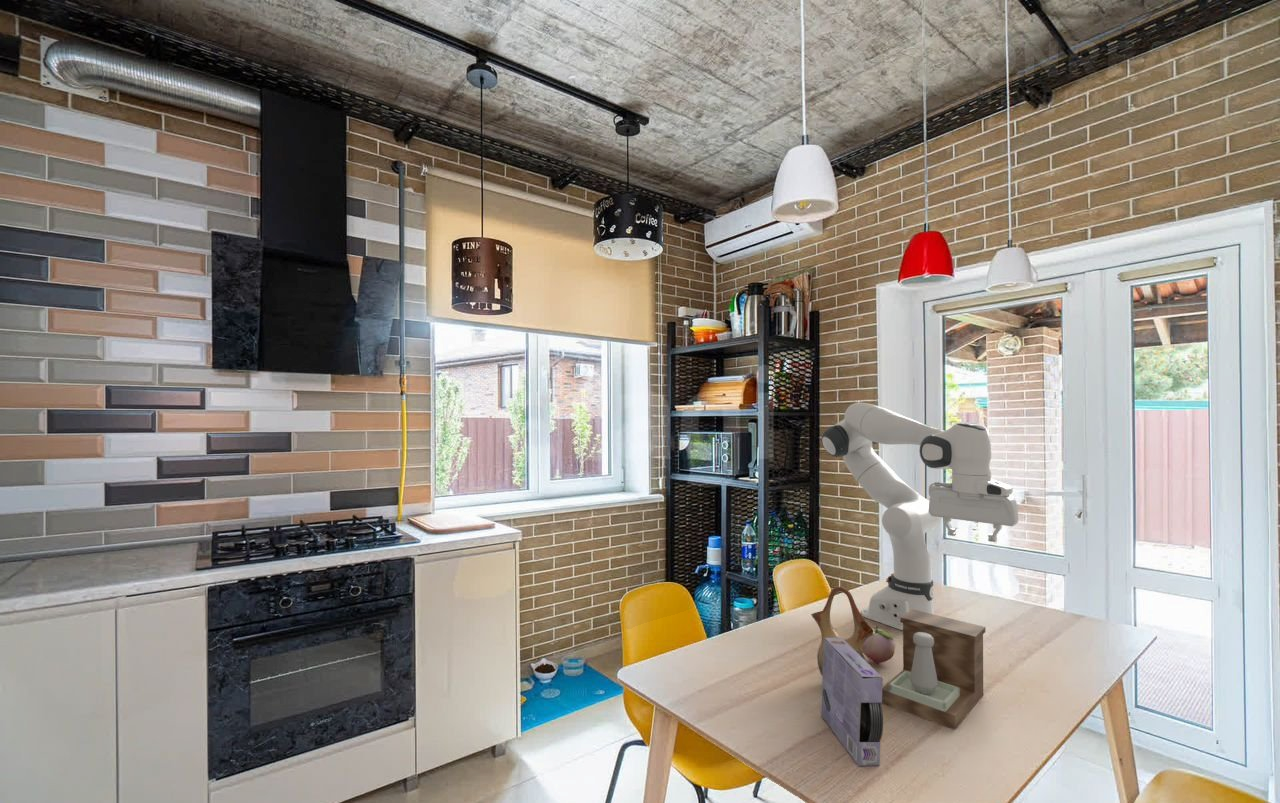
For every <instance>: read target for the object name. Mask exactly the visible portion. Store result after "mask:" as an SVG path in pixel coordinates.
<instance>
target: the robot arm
mask: <svg viewBox="0 0 1280 803" xmlns="http://www.w3.org/2000/svg"><path fill="white" fill-rule="evenodd" d="M820 439H821V444H822V447H823V448H824V450H825V451H826V453H828V454H829V455H830V456H832V457H834V458H840V457H842V458H843V462H844V464H845V466H846V468H847V469H848V471H849V472H850V474H851V475H852V477H853V478H854V480H855V481H856V482H857V483H858V484H859V485H860V486H861V487H862V488H863V490H864V491H865V492H866V494H868V495H869V497H870V498H871V499H872V500H873V501H874V502H876V503H879V504H880V505H882V506H884V507H885V508H887V509H885V511H884V512H883V514H882V518H881V523H882V526H883V528H884V530H885V532H886V533H887V534H888V537H889V540H890V542H891V547H892V548H891V549H892V553H893V555H892V556H893V573H891V574H890V575H889V576H887V578H886V579H885V580H886V583H887V586H885V587H883V588H881V589H879V590H878V591H876V592H875V593H873V594H872V595H871V597H870V599H869V604H868V605H867V606H865V607H864V608H863V609H861V615H862V617H863V618H866V619H869V620H872V621H875V622H877V623H881V624H882V625H886V626H889V627H892V628H894V629H897V630H899V631H903V623H902V622H900V617H902V616H903V615H905V614H906V613H908V612H909V611H911V610H912V609H913V610H918V611H922V612H926V613H930V614H934V615H936V614H935V607H934V602H933V599H934V595H935V592H934V591H935V589H934V588H935V587H934V580H933V579H932V578H933V573H932V570H933V568H932V567H933V565H932V561H933V559H932V558H933V557H932V554H931V553H930V552H929V550H928V547H927V543H926V538H925V534H926V533H929V532H931V531H933V530H935V528H937V526H938V525H939V524H940V523H941V520H942V522H943V525H944V526H945V528H946V529H947V535H948V536H952V537H955V536H956V535H957V533H956V531H957V529H956V528H953V527H952V525H951V523H950V522H952V520H958V521H966V522H974V523H975V522H976V523H983V524H990V525H992V526H993V527H992V528H993V529H995V530H994V531H993V533H988V535H987V536H988V540H987V541H988V542H992V543H996V542H997V541H998V539H997V538H998V537H997V536H998V534H999V533H1000V531H1001V530H1002V527H1003V526H1005V527H1014V526H1016V525H1017V524H1018V523H1019V509H1018V504H1017V501H1016V499H1015V497H1014V496H1013V495H1012V493H1013V492H1014V491H1013V490H1014V488H1013V487H1012V486H1011V485H1010V484H1007V483H1003V482H1001V481H999V480H998V481H997V480H996V479H993V478H992V472H991V468H990V462H991V459H992V447H991V446H992V445H991V444H992V443H991V442H992V441H991V436H990V433H989V430H988V428H987V427H986V426H985V425H982V424H979V423H975V422H968V421H967V422H966V421H964V422H963V421H960V422H959V421H958V422H956V423H954V424H953V425H952V426H951V427H950V428H948V429H945V430H944V429H940V428H937V427H934V426H931V425H928V424H924V423H922V422H919V421H918V420H914V419H911V418H910V417H906V416H903V415H902V414H900V413H897V412H894V411H892V410H890V409H887V408H884V407H883V406H879V405H877V404H872V403H868V402H855V403H852V404H851V405H849V406H848V407H847V409H846V410H845V412H844V418H843V419H842V420H840V421H839V422H837V423H835V424H834V425H833V426H829V427H828V428H826V430H824V431H823V432H822V435H821V438H820ZM877 444H881V445H917V446H919V457H920V459H921V461H922V462H923V463H924V465H925V466H926V467H928V468H930V469H935V470H951V482H940V481H935V482H933V483H931V484H930V485H929V486H928V495H929V499H927V498H925V497H924V496H922V495H921V494H920V493H919V492H917V491H916V490H914V489H913V488H912V487H911V486H909V485H908V484H907V483H906V482H905V481H904V480H902V479H901V478H900V477H899V476H898V475H897V474H896V473H895V472H894V471H893V469H892V468H890V466H889V465H888V464H887V463H886V462H885V461H884V460H883V459H882V458H881V457H880V456H879V455H878V454H877V453H876V452H875V451H874V448H873V445H877Z"/></svg>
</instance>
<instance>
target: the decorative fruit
mask: <svg viewBox="0 0 1280 803" xmlns="http://www.w3.org/2000/svg"><path fill="white" fill-rule="evenodd" d="M875 627H876V628H875ZM875 627H872V628H873V629H874V631H875V633H874V634H873V635H872V636H870V637H869V638H867V639H866V640H865V642H864V644H863V647H862V651H863V654H864V656H865V657H866V658H867V659H869V660H870V661H872V662H873V663H875V664H881V663H886V662H887V661H890V660H891V659H892V658H893V657H894V655H895V651H896V650H895V649H896V643H895V640H894V638H893V636H892V635H891V634H890V633H889V632H887V631H885V630H884V629H881V628H878V625H876V626H875Z"/></svg>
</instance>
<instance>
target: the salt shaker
mask: <svg viewBox="0 0 1280 803" xmlns="http://www.w3.org/2000/svg"><path fill="white" fill-rule="evenodd" d="M913 642H914V643H915V644H916V648H915V654H914V659H913V665H912V670H911V675H910V681H911V683H912V685H913V687H914V690H915V692H918V693H920V694H922V695H932V694H933V693H934V691H935V689H936V688H937V685H938V680H937V675H936V669H935V664H934V659H933V654H932V649H931V647H933V645H934V638H933V637H932V636H931V635H930V634H927V633H923V632H917V633H915V634H914V636H913Z"/></svg>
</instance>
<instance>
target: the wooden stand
mask: <svg viewBox="0 0 1280 803" xmlns="http://www.w3.org/2000/svg"><path fill="white" fill-rule="evenodd" d="M900 622H902V623H903V630H902V662H903V663H902V665H903V666H902V670H901V671H900V672H899V673H897V674H896V675H895V676H894V677H892V678H891V679H890V680H889V681H888V682H886V684H884V685H882V702H881V704H885V705H888V706H891V707H893V708H896V709H898V710H901V711H904V712H906V713H910V714H912V715H915V716H917V717H921V718H924V719H926V720H929V721H930V722H933V723H937V724H939V725H941V726H945V727H947V728H949V729H953V730H957V728H958V727H959V726H960V725H961V723H963V722H964V720H965V718H966V717H967V716H968V715H969V714H970V712H971V711H972V710H973V709H974V707H975V706H976V705H977V704H978V702H980V700H981V699H982V697H983V696H984V634H985V633H986V626H983V625H978V624H974V623H970V622H966V621H962V620H960V619H959V620H958V619H954V618H950V617H945V616H942V615H938V614H935V615H934V614H930V613H926V612H922V611H918V610H913V609H912V610H911V611H909V612H908V613H906V614H905V615H903V616H902V617H900ZM917 632H923V633H927V634H930V635H931V636H932V637H933V638H934V645H933V647H931V649H932V654H933V659H934V664H935V669H936V675H937V680H938V681H940V682H943V683H947V684H950V685H953V686H956V687H959V688H960V696H959V697H958V698H957V699H956V700H955V702H954V703H953V704H952V705H951V706H950V707H949V708H948V710H947V711H946V712H944V711H941V710H938V709H935V708H933V707H930V706H927V705H924V704H921V703H918V702H916V701H913V700H910V699H907V698H904V697H902V696H899V695H896V694H893V693H890V692H889V684H890V683H891V682H892V681H893V680H895V679H896V678H897V677H898V676H899V675H900V674H902V673H903V672H904V671H905V670H906V671H909V672H911V670H912V665H913V659H914V654H915V648H916V644H915V643H914V642H913V636H914V634H915V633H917Z"/></svg>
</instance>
